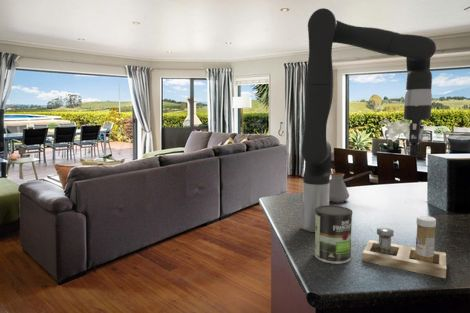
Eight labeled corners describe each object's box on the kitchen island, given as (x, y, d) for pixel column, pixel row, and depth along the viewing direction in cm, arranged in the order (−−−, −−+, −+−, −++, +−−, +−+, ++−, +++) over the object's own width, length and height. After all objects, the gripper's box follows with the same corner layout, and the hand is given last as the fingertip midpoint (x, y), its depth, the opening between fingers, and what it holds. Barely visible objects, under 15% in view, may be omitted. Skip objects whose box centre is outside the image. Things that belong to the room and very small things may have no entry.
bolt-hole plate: (362, 260, 93) (362, 252, 93) (369, 247, 102) (369, 239, 102) (445, 278, 83) (446, 269, 82) (445, 261, 92) (445, 253, 92)
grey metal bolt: (374, 258, 95) (375, 231, 94) (377, 253, 98) (378, 226, 97) (391, 262, 92) (392, 233, 91) (393, 256, 96) (394, 229, 95)
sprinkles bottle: (410, 262, 92) (413, 215, 90) (425, 261, 92) (428, 214, 91) (421, 269, 88) (424, 220, 86) (437, 268, 88) (440, 220, 86)
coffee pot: (323, 202, 155) (323, 171, 153) (325, 196, 165) (325, 167, 164) (372, 206, 148) (373, 173, 146) (370, 199, 158) (371, 169, 157)
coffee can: (358, 259, 94) (360, 212, 92) (330, 267, 90) (331, 217, 88) (334, 246, 103) (335, 203, 102) (307, 252, 99) (307, 207, 97)
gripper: (406, 105, 112) (404, 152, 114) (401, 104, 101) (399, 156, 103) (432, 104, 108) (429, 153, 110) (430, 103, 96) (426, 158, 99)
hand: (414, 155), depth 106 cm, fingers open, 8 cm apart
